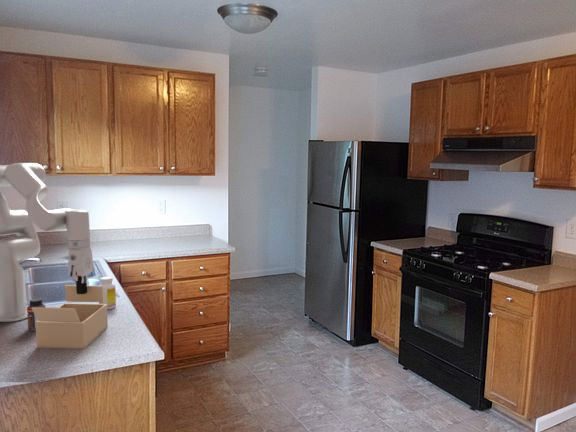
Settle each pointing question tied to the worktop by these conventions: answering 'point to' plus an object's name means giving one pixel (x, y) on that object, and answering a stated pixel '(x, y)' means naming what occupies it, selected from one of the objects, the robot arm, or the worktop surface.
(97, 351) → the worktop surface
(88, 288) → the back flap
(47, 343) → the carton
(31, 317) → the supplement bottle
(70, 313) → the front flap
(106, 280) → the supplement bottle
